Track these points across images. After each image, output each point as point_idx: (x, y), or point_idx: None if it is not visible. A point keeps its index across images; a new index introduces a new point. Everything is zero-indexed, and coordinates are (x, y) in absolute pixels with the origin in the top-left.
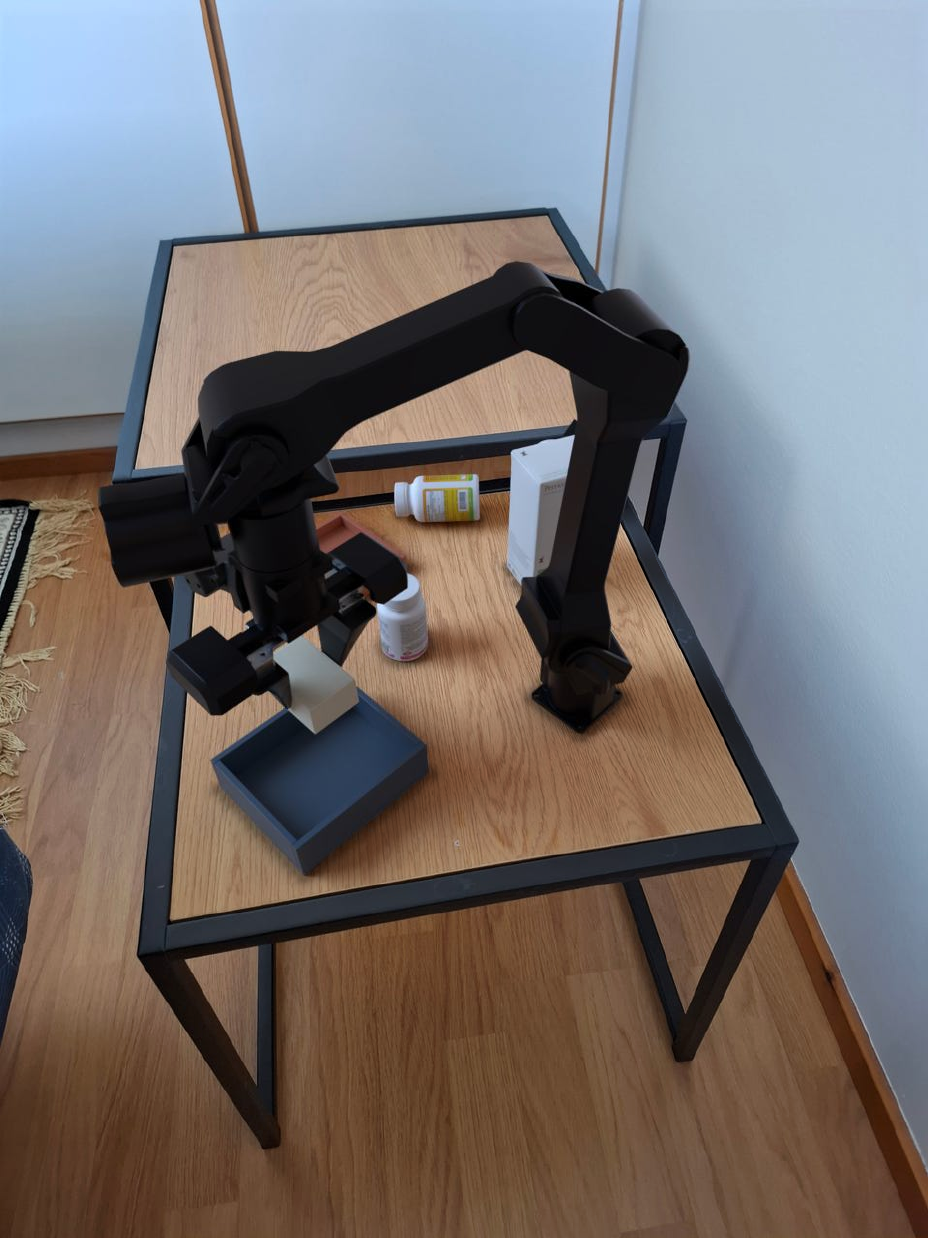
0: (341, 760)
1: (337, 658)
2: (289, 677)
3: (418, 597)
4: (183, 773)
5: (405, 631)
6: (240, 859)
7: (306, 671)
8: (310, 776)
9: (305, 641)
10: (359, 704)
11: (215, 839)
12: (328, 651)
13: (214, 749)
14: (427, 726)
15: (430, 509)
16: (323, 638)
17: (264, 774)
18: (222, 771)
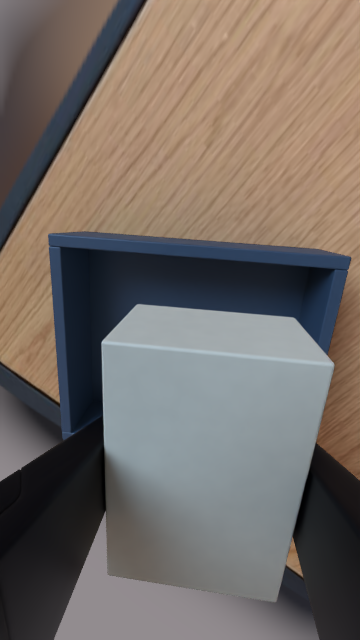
0: None
1: (304, 567)
2: (146, 469)
3: None
4: (57, 163)
5: None
6: (49, 333)
7: (202, 493)
8: None
9: (312, 403)
10: (311, 321)
11: (40, 290)
12: (313, 528)
13: (115, 162)
14: (346, 380)
15: None
16: (348, 556)
17: (133, 273)
18: (51, 271)
